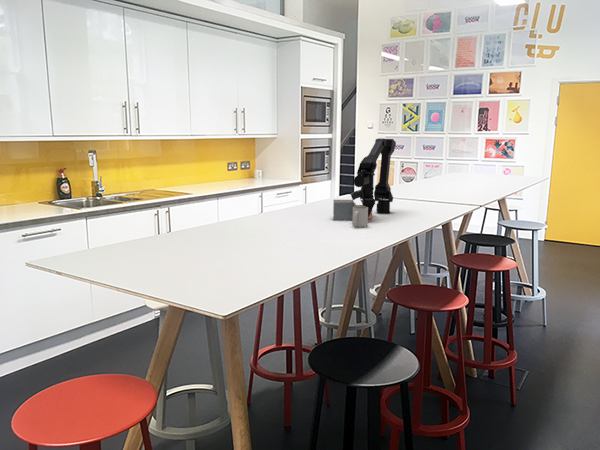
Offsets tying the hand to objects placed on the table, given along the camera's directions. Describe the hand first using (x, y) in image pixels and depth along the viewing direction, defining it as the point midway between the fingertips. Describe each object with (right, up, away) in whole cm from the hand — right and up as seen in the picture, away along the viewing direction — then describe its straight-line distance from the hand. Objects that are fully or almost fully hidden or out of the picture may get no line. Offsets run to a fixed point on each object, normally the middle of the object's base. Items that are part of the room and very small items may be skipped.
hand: (366, 215), depth 257 cm
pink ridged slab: (-6, -1, 0) cm, 6 cm away
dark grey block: (-12, -1, +1) cm, 12 cm away
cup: (-6, -6, -19) cm, 21 cm away
